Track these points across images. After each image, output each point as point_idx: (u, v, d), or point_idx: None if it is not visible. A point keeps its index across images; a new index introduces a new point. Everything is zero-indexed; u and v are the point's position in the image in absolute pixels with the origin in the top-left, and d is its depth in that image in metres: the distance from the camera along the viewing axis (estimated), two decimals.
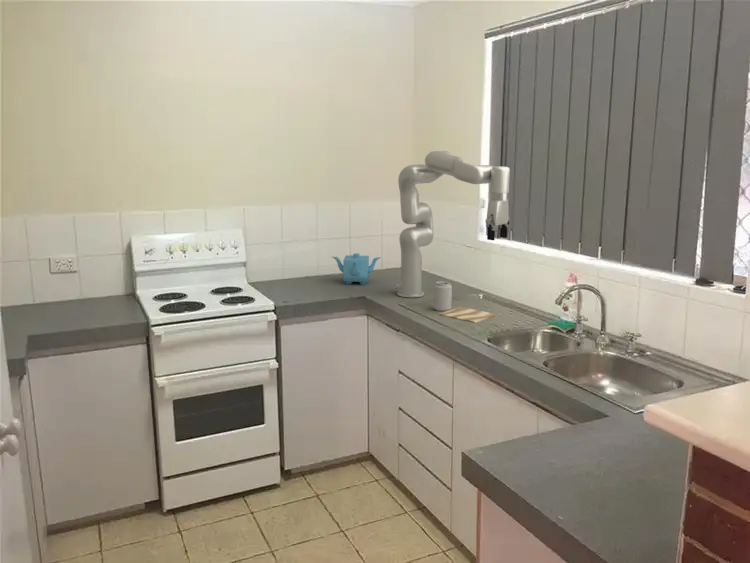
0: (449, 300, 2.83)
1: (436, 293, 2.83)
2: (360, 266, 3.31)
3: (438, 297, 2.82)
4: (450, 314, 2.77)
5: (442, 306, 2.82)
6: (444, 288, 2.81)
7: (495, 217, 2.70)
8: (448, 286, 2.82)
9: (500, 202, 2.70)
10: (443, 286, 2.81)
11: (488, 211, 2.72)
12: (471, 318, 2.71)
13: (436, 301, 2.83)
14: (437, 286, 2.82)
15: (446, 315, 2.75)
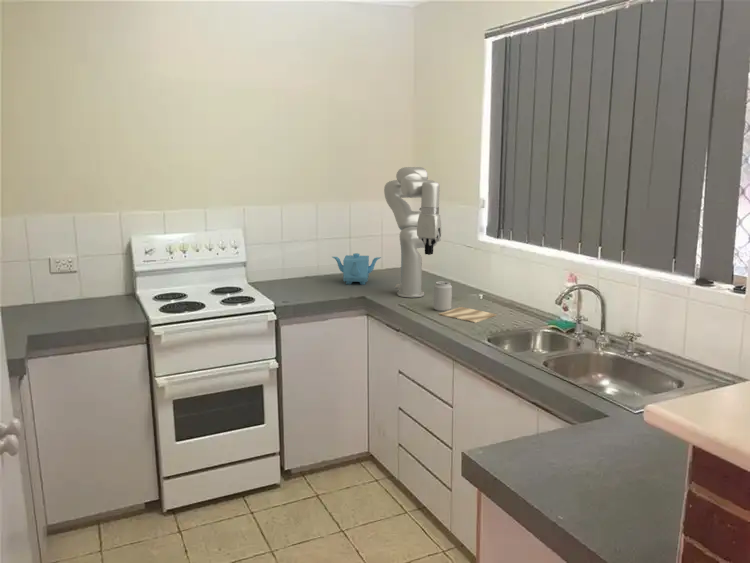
0: (449, 300, 2.83)
1: (436, 293, 2.83)
2: (360, 266, 3.31)
3: (438, 297, 2.82)
4: (450, 314, 2.77)
5: (442, 306, 2.82)
6: (444, 288, 2.81)
7: None
8: (448, 286, 2.82)
9: None
10: (443, 286, 2.81)
11: (436, 225, 2.80)
12: (471, 318, 2.71)
13: (436, 301, 2.83)
14: (437, 286, 2.82)
15: (446, 315, 2.75)
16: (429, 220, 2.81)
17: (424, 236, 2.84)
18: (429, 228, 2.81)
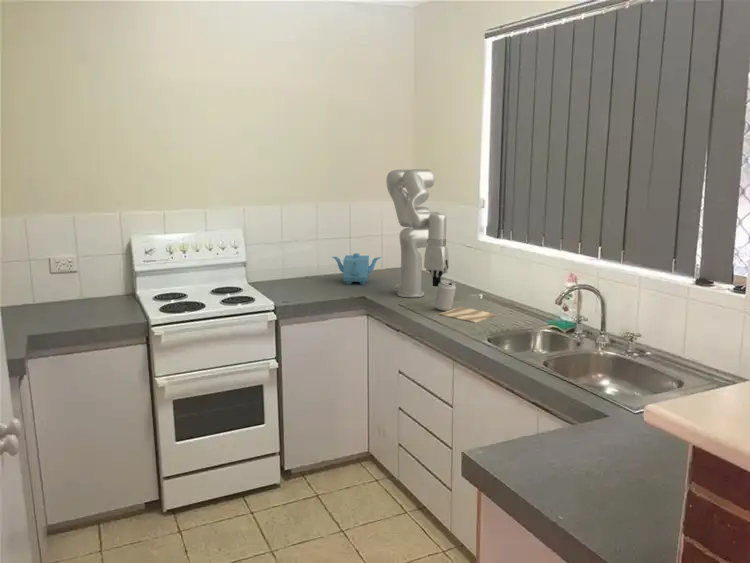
0: (451, 301, 2.82)
1: (439, 292, 2.81)
2: (360, 266, 3.31)
3: (441, 296, 2.81)
4: (450, 314, 2.77)
5: (443, 306, 2.82)
6: (448, 289, 2.79)
7: (448, 262, 2.82)
8: (452, 287, 2.80)
9: None
10: (447, 287, 2.79)
11: (443, 257, 2.79)
12: (471, 318, 2.71)
13: (438, 300, 2.82)
14: (441, 286, 2.80)
15: (446, 315, 2.75)
16: (436, 252, 2.80)
17: (431, 268, 2.83)
18: (436, 260, 2.81)
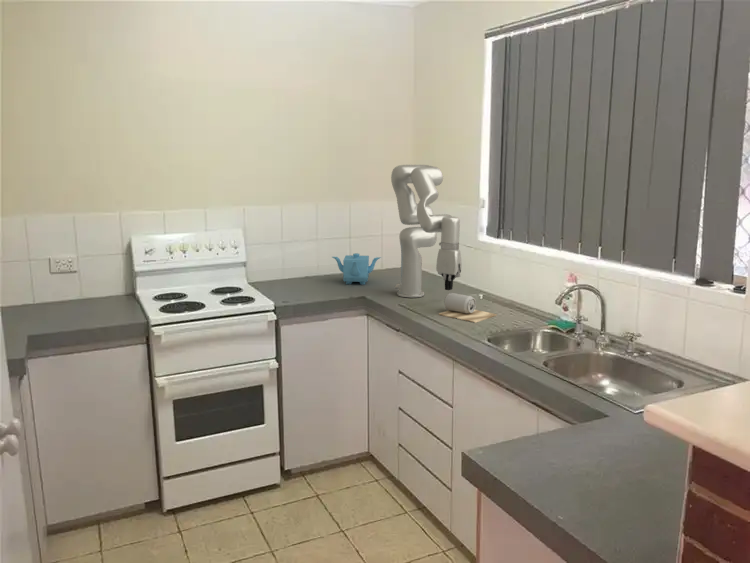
0: None
1: (458, 303, 2.76)
2: (360, 266, 3.31)
3: (455, 306, 2.77)
4: (450, 314, 2.77)
5: (448, 308, 2.81)
6: (465, 312, 2.76)
7: None
8: (468, 313, 2.77)
9: None
10: (466, 310, 2.76)
11: (456, 261, 2.76)
12: (471, 318, 2.71)
13: (451, 302, 2.78)
14: (465, 305, 2.75)
15: (446, 315, 2.75)
16: (449, 256, 2.76)
17: (444, 272, 2.79)
18: (449, 264, 2.77)
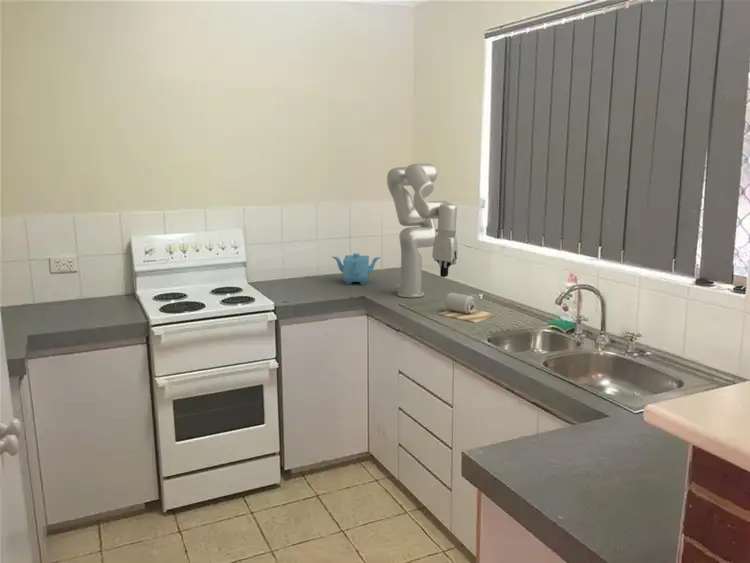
0: None
1: (459, 303, 2.76)
2: (360, 266, 3.31)
3: (456, 305, 2.77)
4: (450, 314, 2.77)
5: (448, 307, 2.81)
6: (465, 311, 2.76)
7: None
8: (468, 312, 2.77)
9: None
10: (466, 310, 2.76)
11: (452, 249, 2.76)
12: (471, 318, 2.71)
13: (452, 302, 2.79)
14: (465, 304, 2.75)
15: (446, 315, 2.75)
16: (445, 243, 2.77)
17: (440, 258, 2.80)
18: (445, 251, 2.78)
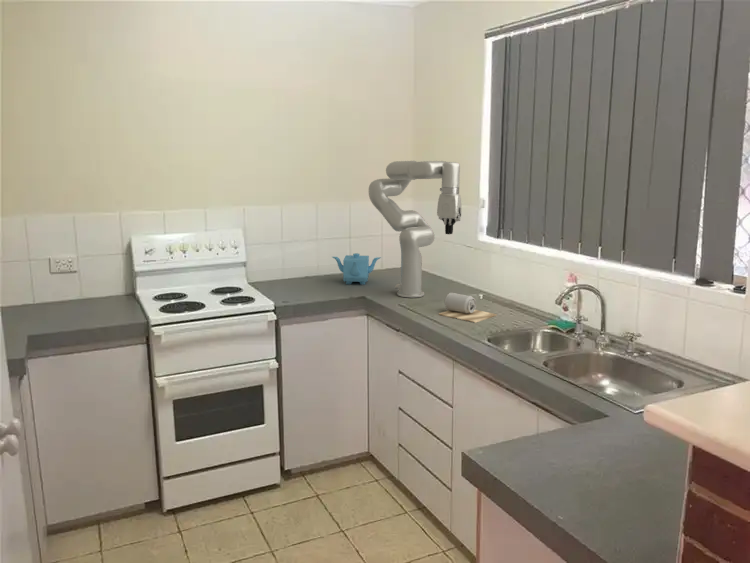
0: None
1: (459, 303, 2.76)
2: (360, 266, 3.31)
3: (456, 305, 2.77)
4: (450, 314, 2.77)
5: (448, 307, 2.81)
6: (465, 311, 2.76)
7: None
8: (468, 313, 2.77)
9: None
10: (466, 310, 2.76)
11: (456, 205, 2.84)
12: (471, 318, 2.71)
13: (452, 302, 2.79)
14: (465, 304, 2.75)
15: (446, 315, 2.75)
16: (449, 200, 2.84)
17: (444, 216, 2.87)
18: (449, 208, 2.85)
